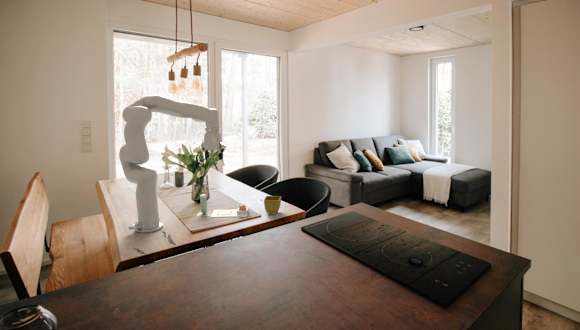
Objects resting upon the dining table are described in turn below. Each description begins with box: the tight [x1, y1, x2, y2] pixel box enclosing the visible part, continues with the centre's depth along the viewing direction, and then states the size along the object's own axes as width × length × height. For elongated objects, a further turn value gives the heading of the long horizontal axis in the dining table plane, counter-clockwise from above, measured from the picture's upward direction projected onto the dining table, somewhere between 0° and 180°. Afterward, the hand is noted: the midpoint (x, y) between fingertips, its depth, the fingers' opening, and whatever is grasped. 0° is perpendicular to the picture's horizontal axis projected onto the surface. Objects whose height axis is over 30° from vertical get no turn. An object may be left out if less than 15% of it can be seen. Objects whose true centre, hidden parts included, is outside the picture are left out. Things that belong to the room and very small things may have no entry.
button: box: [238, 204, 246, 210], centre depth 177 cm, size 3×3×3 cm
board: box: [209, 206, 249, 218], centre depth 177 cm, size 20×12×3 cm, turn 93°
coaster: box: [196, 211, 212, 217], centre depth 177 cm, size 7×7×1 cm
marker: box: [199, 193, 208, 215], centre depth 176 cm, size 4×4×11 cm
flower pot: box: [263, 195, 282, 215], centre depth 178 cm, size 9×9×9 cm
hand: (214, 159), depth 186 cm, fingers open, 9 cm apart
